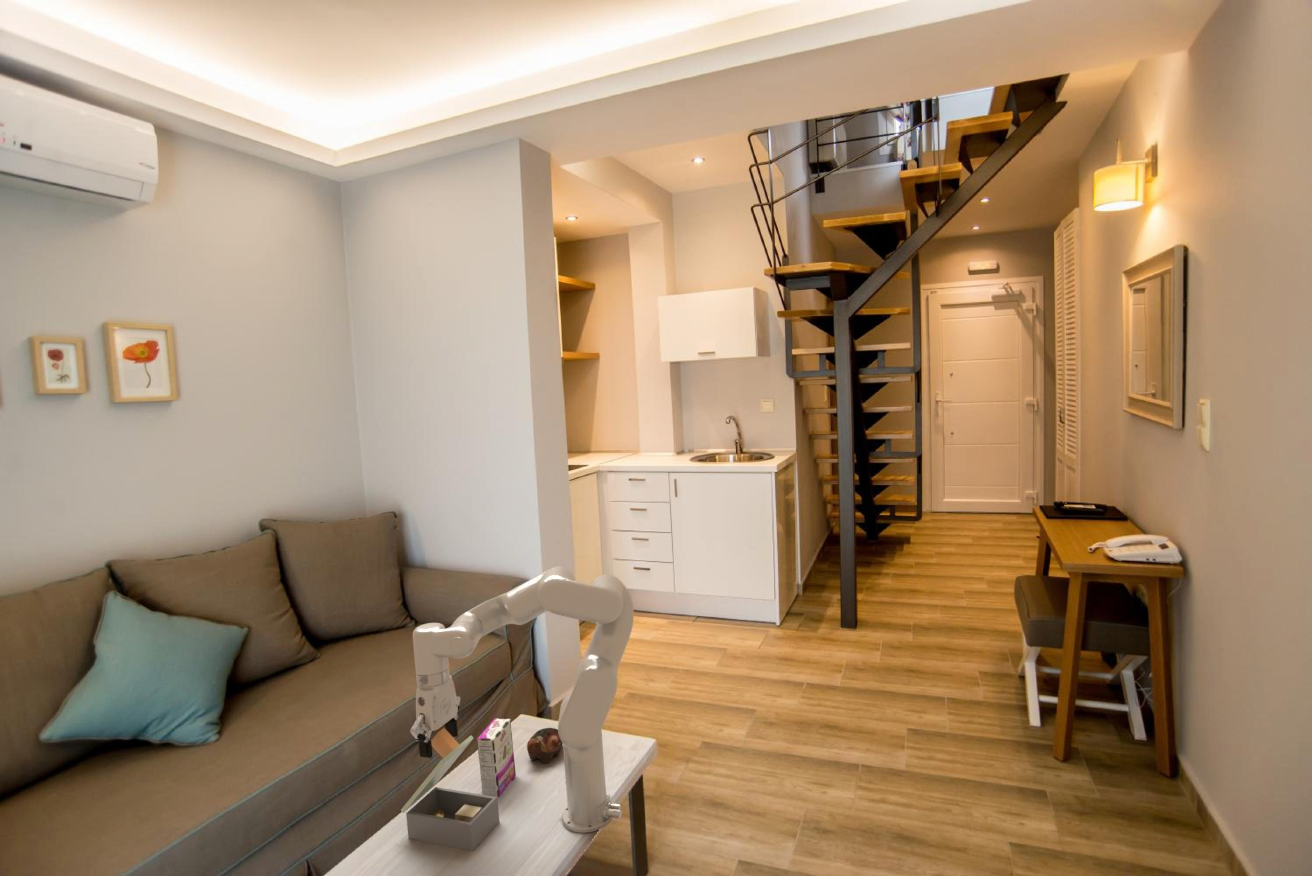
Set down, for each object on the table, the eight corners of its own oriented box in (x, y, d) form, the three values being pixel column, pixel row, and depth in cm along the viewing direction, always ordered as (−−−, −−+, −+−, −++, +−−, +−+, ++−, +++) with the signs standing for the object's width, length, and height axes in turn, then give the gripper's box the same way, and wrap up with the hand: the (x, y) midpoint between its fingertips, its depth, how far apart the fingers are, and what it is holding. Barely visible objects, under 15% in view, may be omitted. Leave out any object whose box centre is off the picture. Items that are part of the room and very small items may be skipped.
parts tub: (499, 824, 168) (497, 797, 167) (473, 854, 157) (470, 825, 157) (438, 813, 174) (435, 787, 173) (408, 841, 163) (406, 813, 163)
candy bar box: (499, 775, 190) (494, 717, 189) (516, 776, 189) (511, 718, 188) (481, 799, 179) (476, 738, 178) (499, 800, 178) (494, 739, 177)
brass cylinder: (448, 827, 167) (447, 811, 166) (438, 837, 163) (436, 821, 163) (435, 824, 168) (433, 809, 168) (424, 835, 164) (422, 819, 164)
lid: (473, 738, 168) (455, 718, 170) (444, 763, 157) (425, 742, 159) (434, 785, 174) (417, 766, 175) (403, 813, 163) (385, 792, 164)
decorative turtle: (517, 768, 193) (515, 739, 193) (546, 745, 206) (544, 718, 207) (547, 772, 189) (544, 743, 189) (574, 748, 203) (572, 720, 203)
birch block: (483, 823, 167) (482, 807, 167) (473, 833, 164) (472, 817, 163) (466, 820, 169) (464, 804, 169) (456, 830, 165) (454, 814, 165)
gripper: (422, 694, 154) (429, 767, 155) (468, 663, 170) (473, 730, 172) (395, 691, 157) (402, 763, 158) (442, 661, 173) (448, 727, 174)
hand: (439, 746), depth 165 cm, fingers open, 9 cm apart
